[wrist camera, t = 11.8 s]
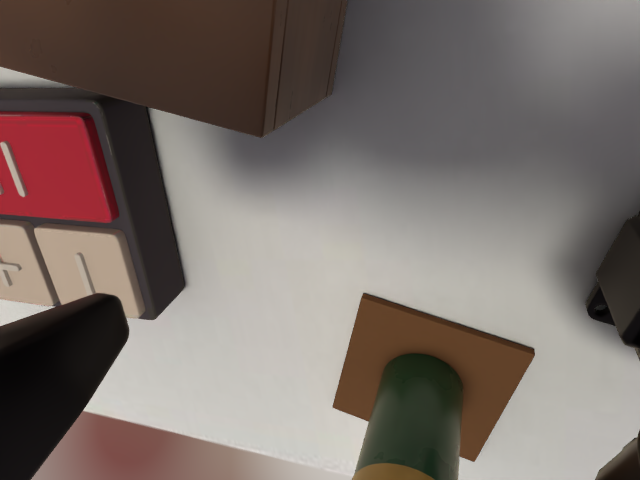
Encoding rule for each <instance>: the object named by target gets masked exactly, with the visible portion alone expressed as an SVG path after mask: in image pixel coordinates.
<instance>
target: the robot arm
mask: <svg viewBox="0 0 640 480" xmlns="http://www.w3.org/2000/svg"><path fill="white" fill-rule="evenodd" d="M596 277H597V279H598V282H597V284H596V286H595V287H594V289H593V291H592V292H591V294H590V296H589V297H588V299H587V301H586V304H585V305H586V309H587V312H588V315H589V316H590V317H591V318H593V319H595V320H597V321H601V322H604V323H607V324H610V325H613V326H616V328H617V331H618V333H619V336H620V338H621V340H622V341H623V343H624V344H625V345H627V346H630V347H633V348H635V350H636V353H637V355H638V357H639V360H640V212H639V214H638V215H637V216H634V217H632V218H630V219H628V220H627V221H626V222H625V224H624V226H623V228H622V229H621V231H620V233H619V234H618V236H617V238H616V240H615V241H614V243H613V245H612V246H611V248H610V250H609V251H608V253H607V255H606V257H605V258H604V260H603V262H602V263H601V265H600V267H599V268H598V270H597V272H596ZM599 305H605V306H607V307H606V308H604V309H602V310H596V309H595V308H596V307H597V306H599ZM128 337H129V326H128V323H127V319H126V316H125V312H124V309H123V306H122V302H121V300H120V299H119V298H118V297H117V296H115V295H111V294H105V293H95V294H92V295H89V296H86V297H83V298H80V299H77V300H75V301H72V302H69V303H66V304H63V305H60V306H57V307H55V308H52V309H49V310H46V311H43V312H40V313H37V314H35V315H32V316H29V317H26V318H23V319H20V320H17V321H15V322H12V323H9V324H6V325H3V326H0V480H31V479H32V477H33V476H34V475H35V473H36V472H37V471H38V469H39V468H40V466H41V465H42V464H43V463H44V461H45V460H46V459H47V458H48V456H49V455H50V454H51V452H52V451H53V450H54V448H55V447H56V446H57V444H58V443H59V442H60V440H61V439H62V438H63V436H64V435H65V434H66V432H67V431H68V430H69V429H70V427H71V426H72V425H73V423H74V422H75V420H76V419H77V418H78V417H79V415H80V414H81V412H82V411H83V410H84V408H85V407H86V405H87V404H88V402H89V401H90V399H91V398H92V396H93V394H94V393H95V391H96V390H97V388H98V386H99V385H100V383H101V382H102V380H103V378H104V377H105V375H106V374H107V372H108V371H109V369H110V367H111V366H112V364H113V363H114V361H115V359H116V358H117V356H118V355H119V353H120V351H121V350H122V348H123V347H124V345H125V343H126V342H127V340H128ZM595 480H640V431H639V434H638V437H637V438H634V439H633V440H632V441H631V442H630V443H628V444H627V445H626V446H625V447H624V448H623V450H622V451H621V452H620V453H619V454H618V455H617V456H615V457H614V458H613V459H612V460H611V461H610V462H608V463H607V464H606V465H605V466H604V467H603V468H601V469H600V470H599V472H598V474H597V477H596V479H595Z"/></svg>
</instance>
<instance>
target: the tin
mask: <svg viewBox="0 0 640 480" xmlns="http://www.w3.org/2000/svg"><path fill="white" fill-rule="evenodd" d="M462 406H463V384H462V381H461V379H460V377H459V375H458V374H457V373H456V371H455V370H454V369H453V368H452V367H451V366H449V365H448V364H447V363H445V362H444V361H442V360H440V359H438V358H435V357H433V356H430V355H425V354H418V353H411V354H404V355H401V356H398V357H396V358H394V359H392V360H391V361H390V362H389V363H388V364H387V365H386V366H385V368H384V370H383V373H382V377H381V380H380V384H379V387H378V391H377V395H376V398H375V402H374V405H373V409H372V413H371V416H370V420H369V423H368V427H367V431H366V434H365V438H364V441H363V445H362V449H361V452H360V456H359V459H358V463H357V467H356V470H355V474H354V476H353V478H352V480H458V472H459V456H460V439H461V423H462Z"/></svg>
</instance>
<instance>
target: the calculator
mask: <svg viewBox="0 0 640 480" xmlns="http://www.w3.org/2000/svg"><path fill="white" fill-rule="evenodd" d="M183 289H184V280H183V276H182V271H181V266H180V262H179V257H178V253H177V248H176V244H175V239H174V234H173V230H172V225H171V221H170V216H169V211H168V207H167V202H166V198H165V193H164V189H163V184H162V179H161V175H160V170H159V166H158V161H157V157H156V152H155V147H154V143H153V138H152V134H151V129H150V124H149V120H148V115H147V111H146V106H143V105H139V104H135V103H132V102H128V101H124V100H121V99H117V98H114V97H110V96H106V95H103V94H99V93H95V92H92V91H88V90H84V89H81V88H0V299H3V300H10V301H17V302H23V303H30V304H37V305H44V306H56V307H57V306H60V305H63V304H66V303H69V302H72V301H75V300H77V299H80V298H83V297H86V296H89V295H92V294H95V293H105V294H111V295H115V296H117V297H118V298H119V299H120V300H121V302H122V306H123V309H124V312H125V316H126V317H127V318H139V319H146V320H154V319H156V318H157V317H158V316H159V315H160V314H161V313H162V312H163V311H164V310H165V308H166V307H167V306H168V305H169V304H170V303H171V302H172V301H173V300H174V299H175V298H176V297H177V296H178V295H179V294H180V292H181V291H182V290H183Z"/></svg>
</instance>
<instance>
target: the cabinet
mask: <svg viewBox="0 0 640 480" xmlns="http://www.w3.org/2000/svg"><path fill="white" fill-rule="evenodd" d="M347 2H348V0H0V67H4V68H7V69H11V70H15V71H18V72H22V73H26V74H29V75H33V76H37V77H40V78H44V79H48V80H51V81H55V82H59V83H62V84H66V85H70V86H73V87H77V88H81V89H84V90H88V91H92V92H95V93H99V94H103V95H106V96H110V97H114V98H117V99H121V100H124V101H128V102H132V103H135V104H139V105H143V106H146V107H150V108H154V109H157V110H161V111H165V112H168V113H172V114H176V115H179V116H183V117H187V118H190V119H194V120H198V121H201V122H205V123H209V124H212V125H216V126H220V127H223V128H227V129H231V130H234V131H238V132H242V133H245V134H249V135H253V136H256V137H260V138H263V137H264V136H266V135H268V134H269V133H271V132H272V131H274V130H276V129H277V128H279V127H280V126H282V125H284V124H285V123H287V122H288V121H290V120H292V119H293V118H295V117H296V116H298V115H299V114H301V113H303V112H304V111H306V110H307V109H309V108H311V107H312V106H314V105H315V104H317V103H319V102H320V101H322V100H323V99H325V98H327V97H328V96H330V95H331V94H332V89H333V84H334V78H335V72H336V66H337V60H338V54H339V48H340V43H341V37H342V31H343V25H344V19H345V13H346V7H347Z"/></svg>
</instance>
